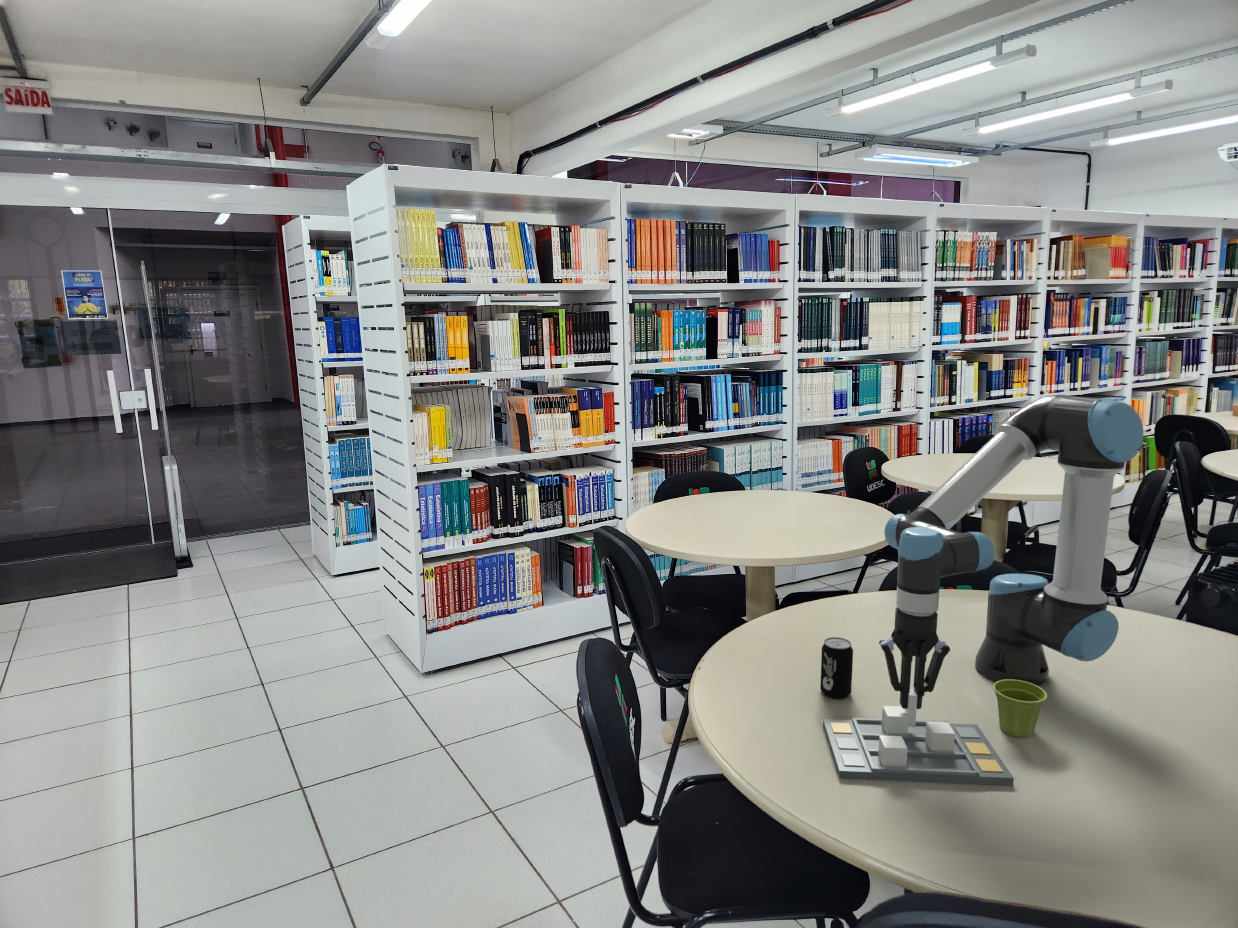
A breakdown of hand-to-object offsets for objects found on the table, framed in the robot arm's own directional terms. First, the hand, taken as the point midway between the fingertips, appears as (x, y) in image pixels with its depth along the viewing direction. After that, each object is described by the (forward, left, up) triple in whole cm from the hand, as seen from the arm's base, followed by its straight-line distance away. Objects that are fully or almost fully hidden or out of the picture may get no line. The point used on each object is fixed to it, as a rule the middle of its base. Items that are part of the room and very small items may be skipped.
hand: (909, 722), depth 150 cm
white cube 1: (+3, 0, -2) cm, 3 cm away
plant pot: (-22, -5, -4) cm, 23 cm away
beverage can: (+11, -18, -4) cm, 21 cm away
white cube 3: (+6, +11, -2) cm, 13 cm away
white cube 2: (-4, +5, -2) cm, 7 cm away
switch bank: (+1, +5, -3) cm, 6 cm away
